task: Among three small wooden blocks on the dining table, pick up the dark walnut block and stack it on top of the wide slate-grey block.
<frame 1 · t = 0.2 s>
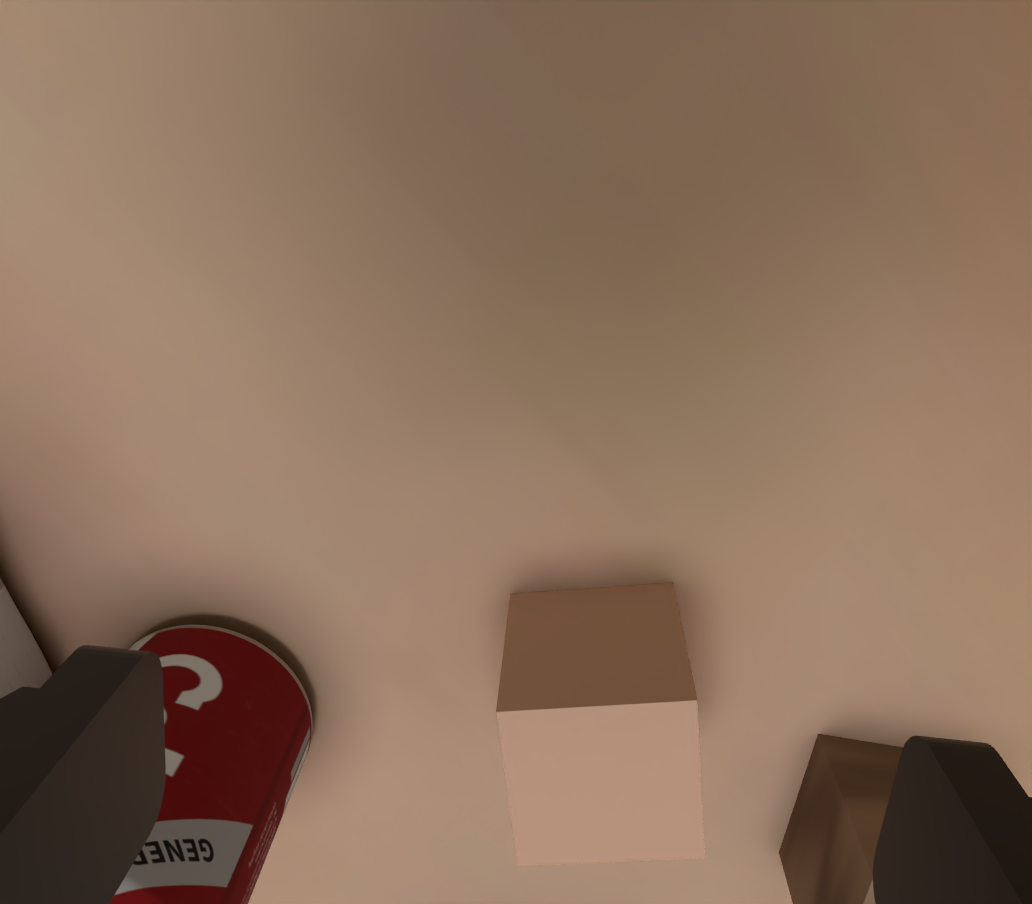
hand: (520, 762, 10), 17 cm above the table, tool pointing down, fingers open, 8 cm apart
walnut block: (871, 805, 32), on the table
soda can: (219, 697, 32), on the table
tan block: (597, 656, 30), on the table
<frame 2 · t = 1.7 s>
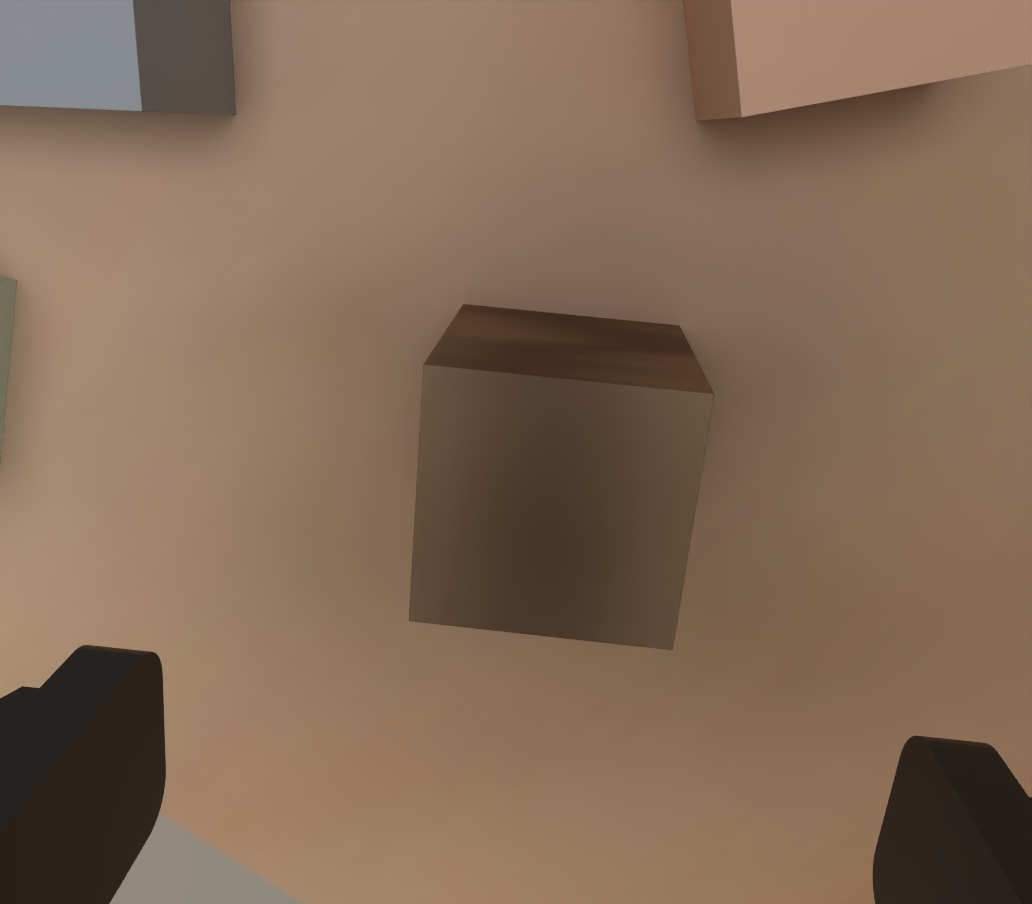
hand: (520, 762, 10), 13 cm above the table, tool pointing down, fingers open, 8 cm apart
walnut block: (559, 417, 23), on the table
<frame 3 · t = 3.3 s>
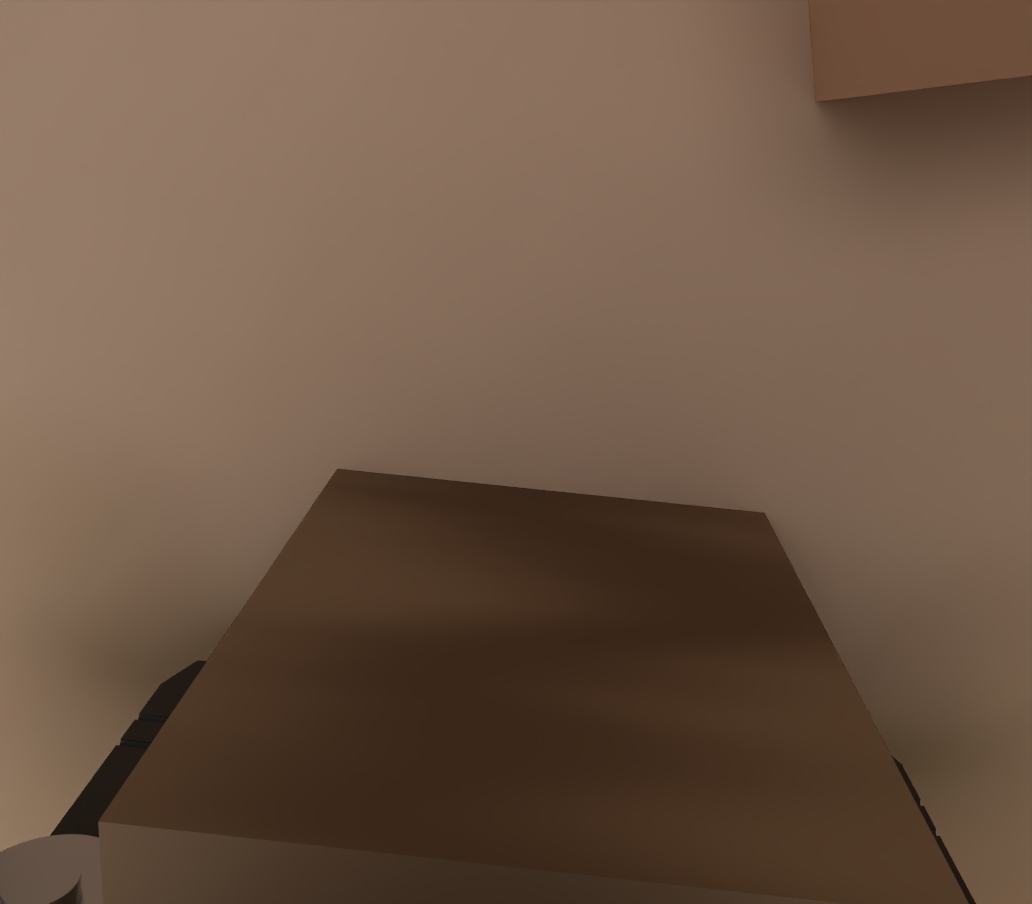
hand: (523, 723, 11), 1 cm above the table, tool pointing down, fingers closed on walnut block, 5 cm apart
walnut block: (529, 676, 12), on the table, touching gripper
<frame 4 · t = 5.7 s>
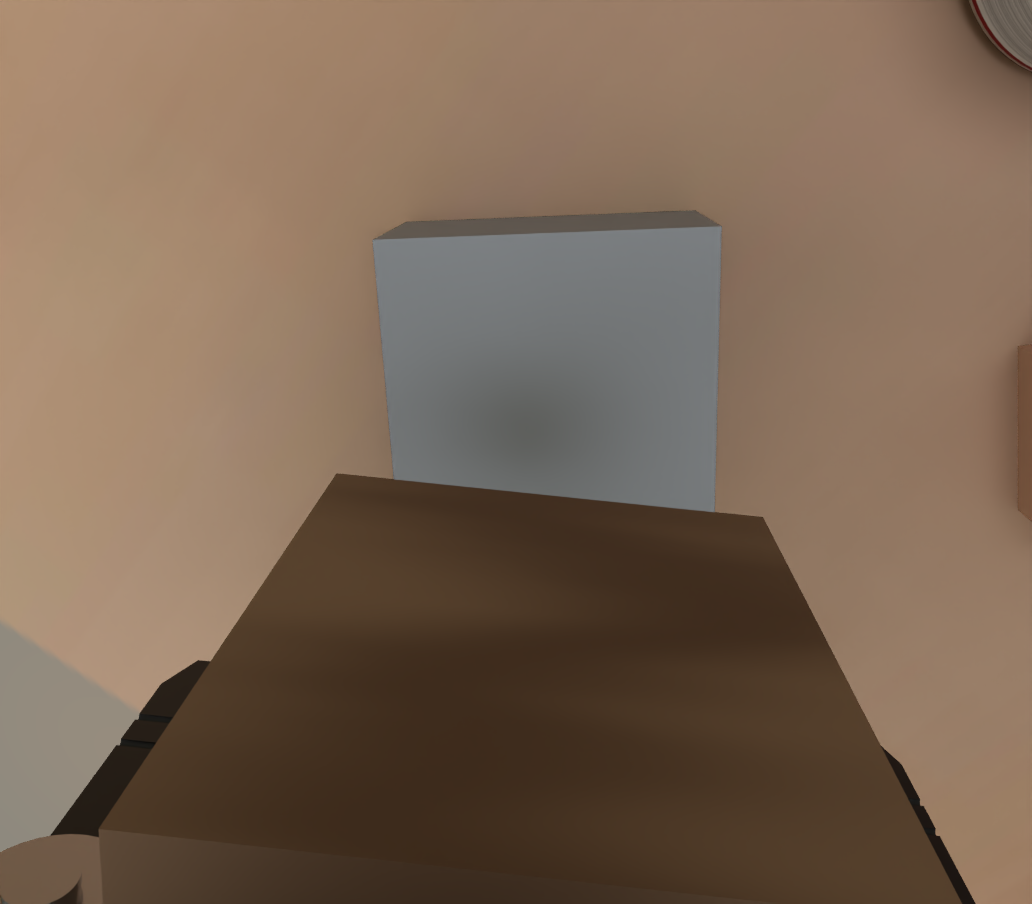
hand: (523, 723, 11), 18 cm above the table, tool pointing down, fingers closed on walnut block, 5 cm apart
grey base block: (553, 356, 28), on the table
walnut block: (528, 680, 12), point 17 cm above the table, touching gripper
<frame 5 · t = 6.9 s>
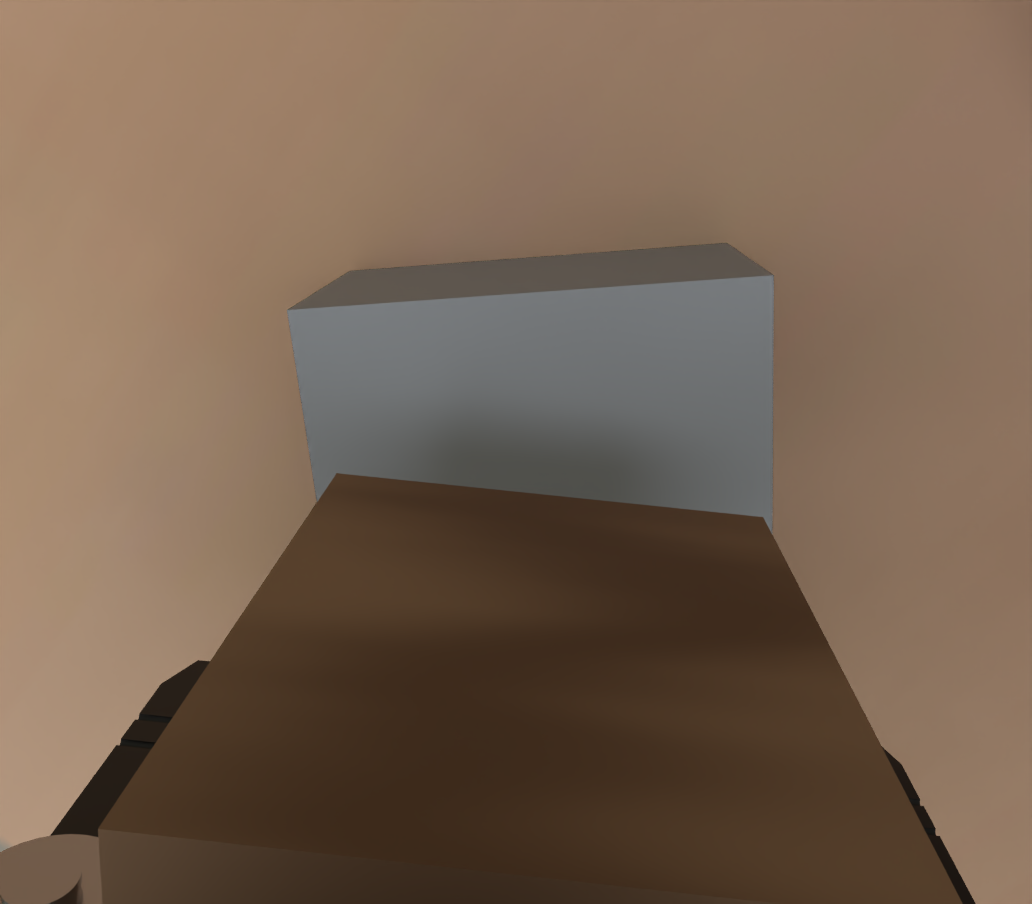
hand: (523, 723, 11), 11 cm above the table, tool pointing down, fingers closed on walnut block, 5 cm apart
grey base block: (548, 434, 22), on the table
walnut block: (528, 680, 12), point 10 cm above the table, touching gripper
when the fingers open (7 cm above the table, at t = 8.0 s): walnut block drops 2 cm, resting on grey base block.
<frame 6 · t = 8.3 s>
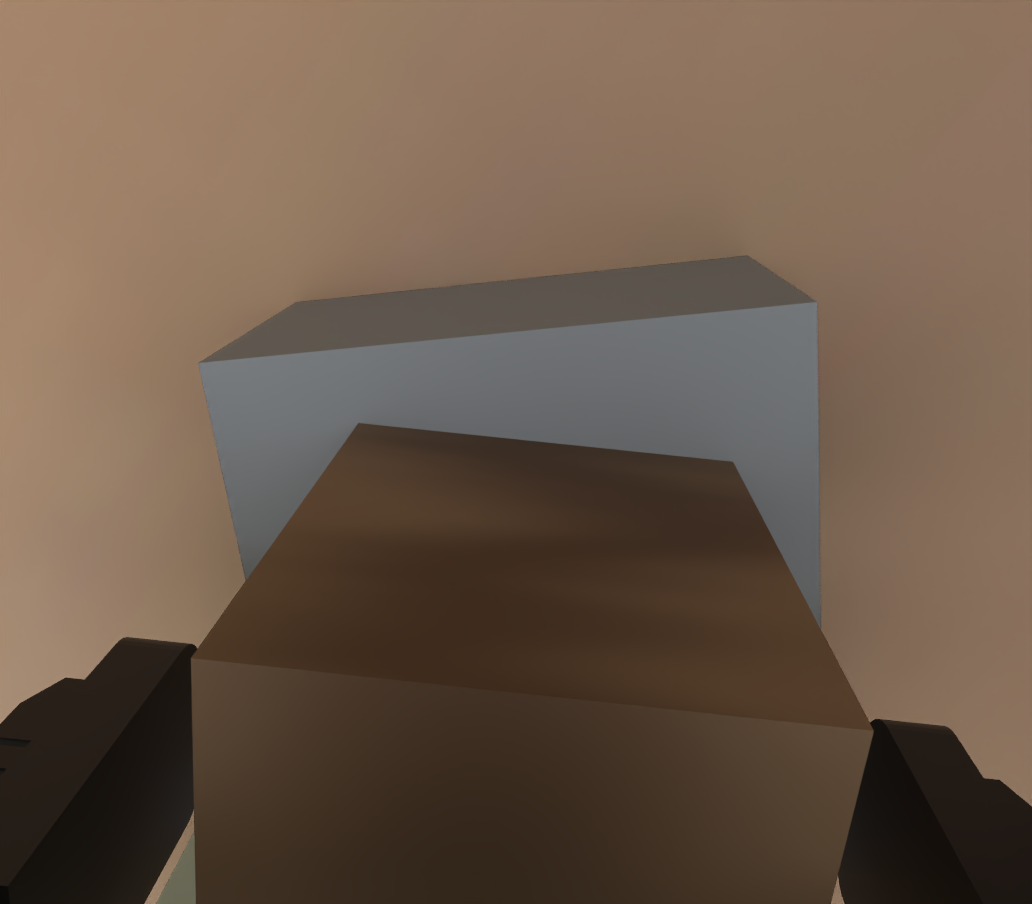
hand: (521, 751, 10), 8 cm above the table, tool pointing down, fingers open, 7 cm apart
grey base block: (540, 487, 18), on the table, touching walnut block
walnut block: (527, 609, 13), point 5 cm above the table, touching grey base block
pale green block: (318, 886, 21), on the table
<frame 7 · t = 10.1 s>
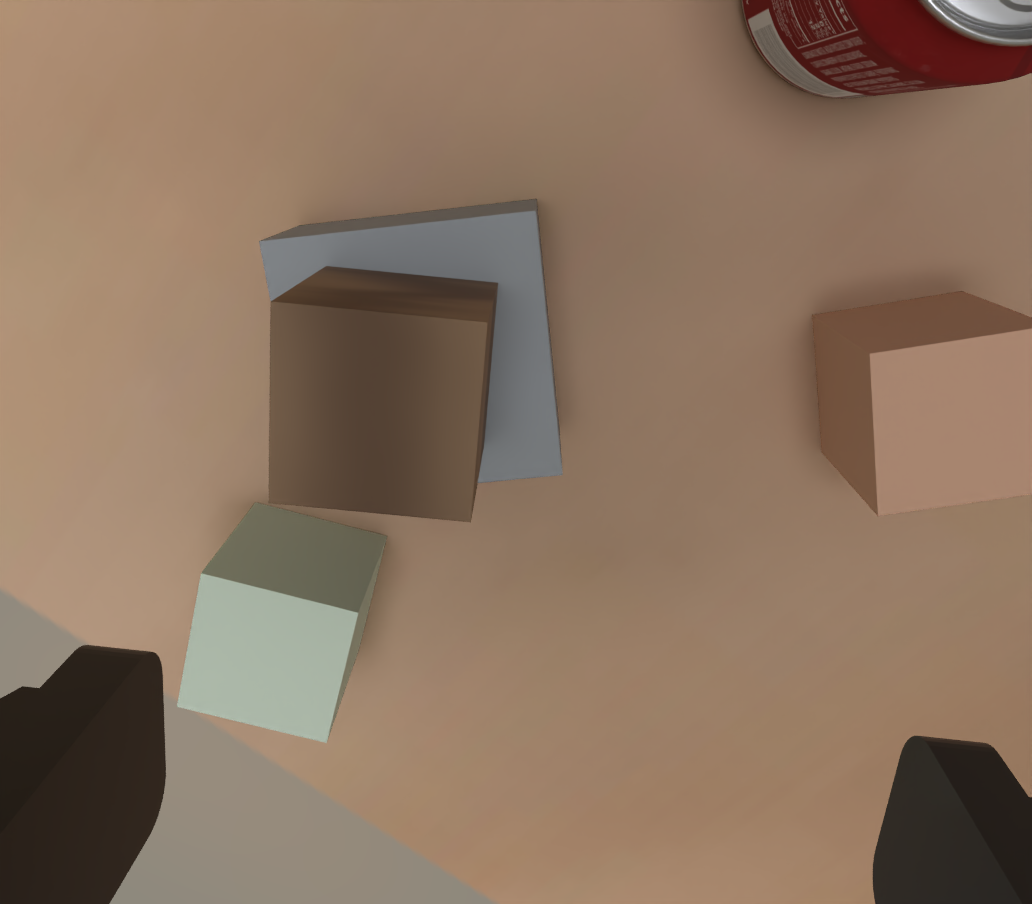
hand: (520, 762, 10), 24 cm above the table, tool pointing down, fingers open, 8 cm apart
grey base block: (434, 329, 33), on the table
walnut block: (407, 358, 28), point 5 cm above the table
pale green block: (308, 577, 36), on the table
tan block: (889, 373, 33), on the table
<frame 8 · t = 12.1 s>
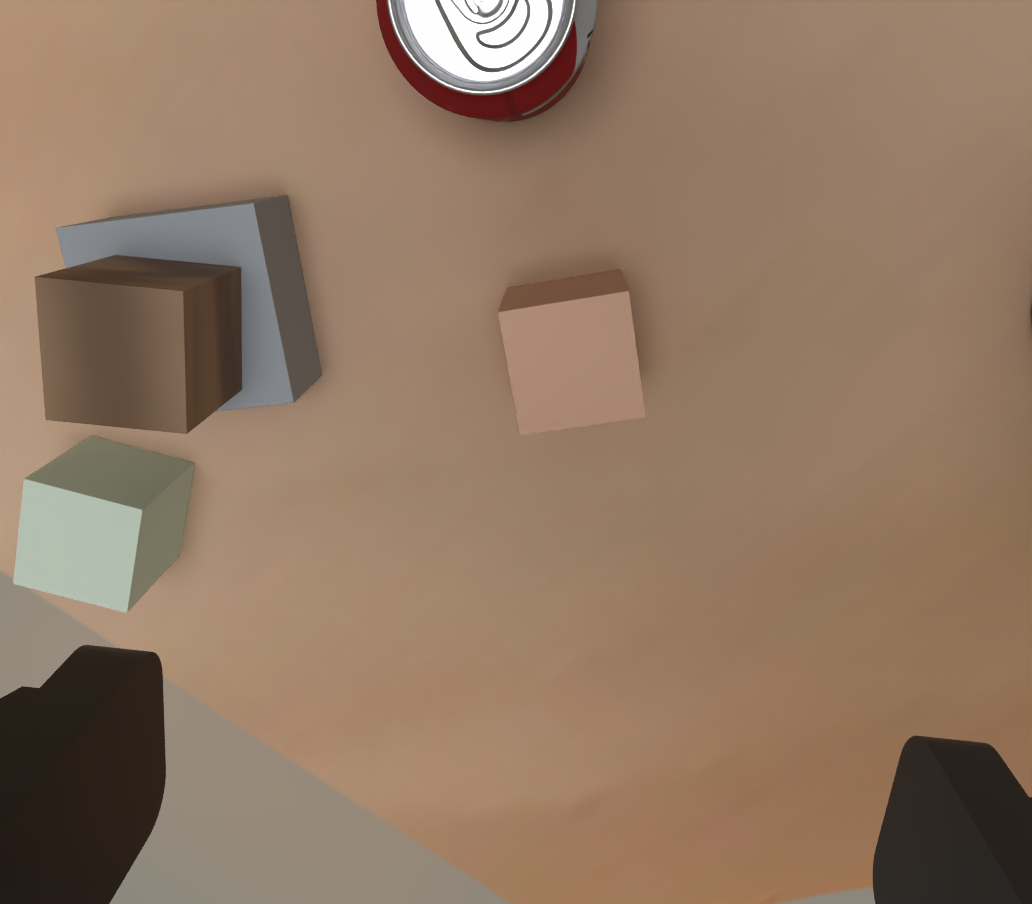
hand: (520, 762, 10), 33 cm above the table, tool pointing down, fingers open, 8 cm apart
grey base block: (220, 296, 43), on the table
walnut block: (180, 323, 38), point 5 cm above the table
soda can: (506, 34, 39), on the table
pale green block: (137, 496, 46), on the table
tan block: (571, 334, 42), on the table
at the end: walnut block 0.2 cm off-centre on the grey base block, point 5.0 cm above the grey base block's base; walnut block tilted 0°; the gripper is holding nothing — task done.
